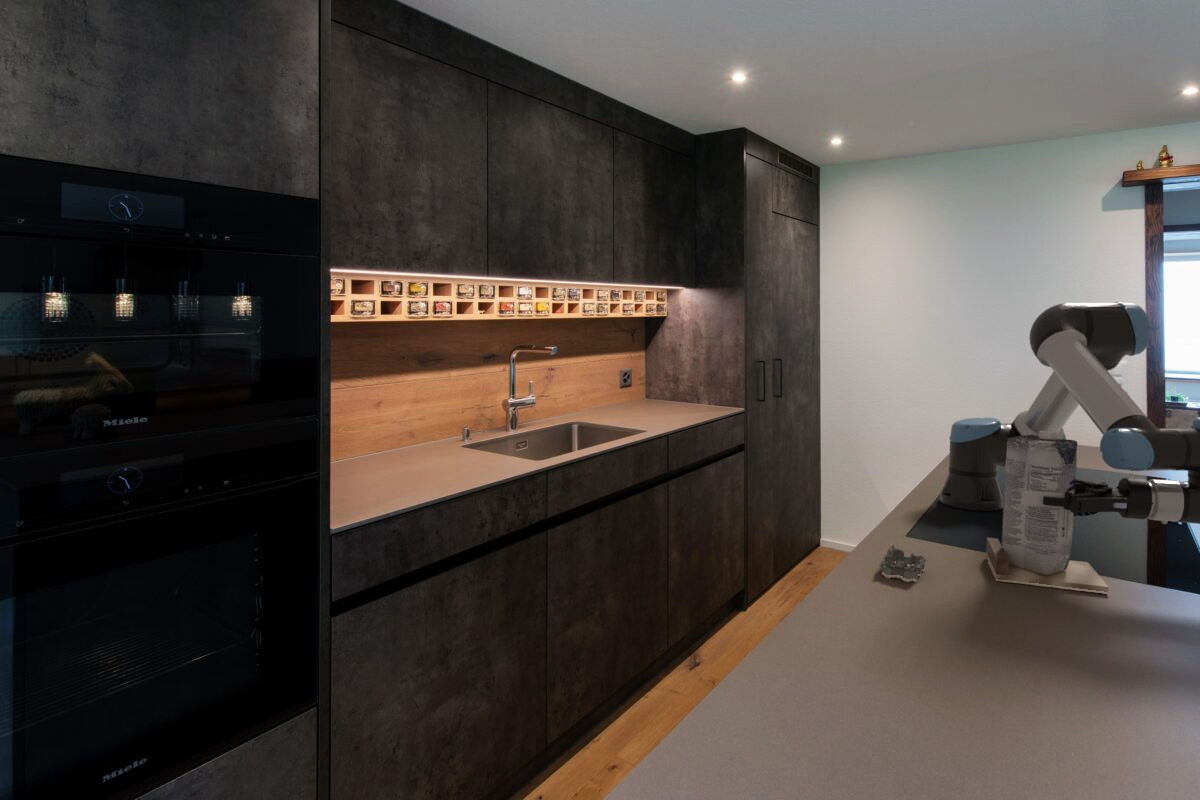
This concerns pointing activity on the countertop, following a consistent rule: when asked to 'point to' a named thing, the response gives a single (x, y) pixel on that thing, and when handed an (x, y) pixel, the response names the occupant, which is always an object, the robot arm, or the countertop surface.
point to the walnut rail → (997, 556)
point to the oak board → (1058, 576)
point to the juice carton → (1032, 530)
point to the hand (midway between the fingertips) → (1015, 489)
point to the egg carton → (902, 564)
